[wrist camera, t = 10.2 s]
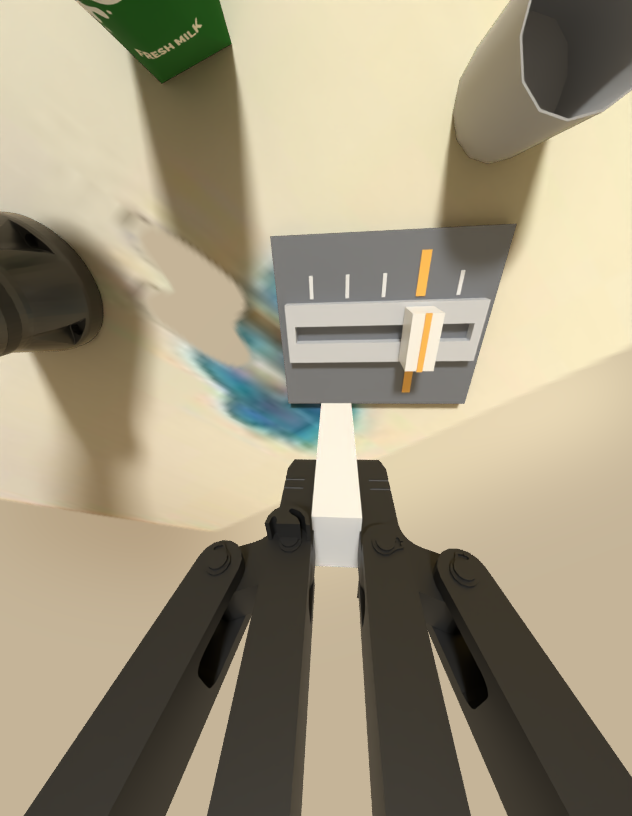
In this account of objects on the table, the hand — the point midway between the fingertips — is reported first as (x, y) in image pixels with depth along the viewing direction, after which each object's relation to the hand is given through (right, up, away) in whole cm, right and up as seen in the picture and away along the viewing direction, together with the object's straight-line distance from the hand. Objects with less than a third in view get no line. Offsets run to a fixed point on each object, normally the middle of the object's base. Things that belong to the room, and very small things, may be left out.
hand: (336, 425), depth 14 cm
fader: (+10, +10, +17) cm, 22 cm away
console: (+7, +11, +19) cm, 23 cm away
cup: (+15, +27, +8) cm, 32 cm away
